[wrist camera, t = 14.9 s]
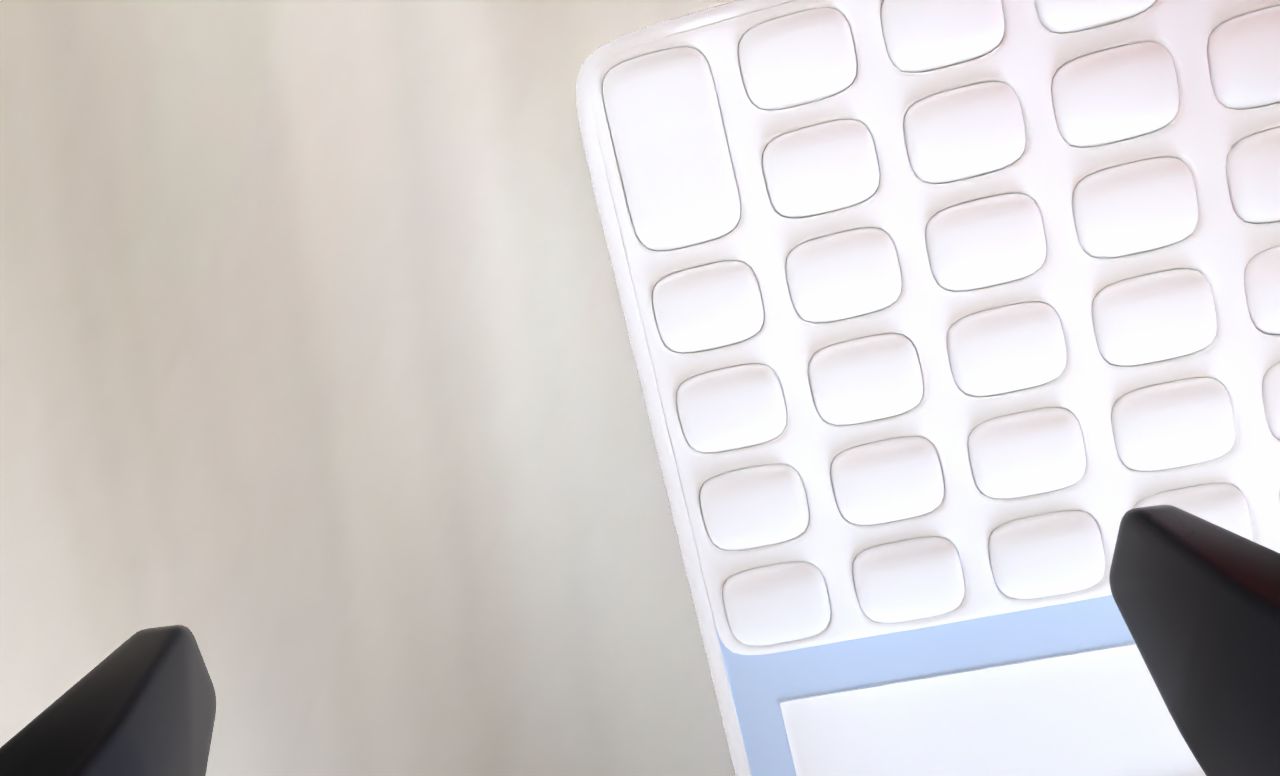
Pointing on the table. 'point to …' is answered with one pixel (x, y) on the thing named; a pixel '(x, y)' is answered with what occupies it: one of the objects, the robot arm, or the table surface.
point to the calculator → (944, 353)
